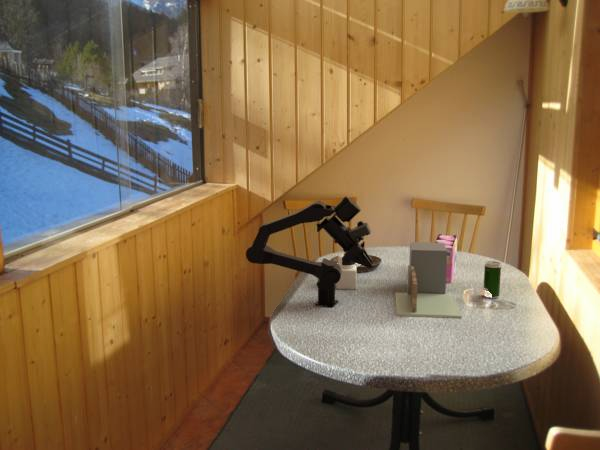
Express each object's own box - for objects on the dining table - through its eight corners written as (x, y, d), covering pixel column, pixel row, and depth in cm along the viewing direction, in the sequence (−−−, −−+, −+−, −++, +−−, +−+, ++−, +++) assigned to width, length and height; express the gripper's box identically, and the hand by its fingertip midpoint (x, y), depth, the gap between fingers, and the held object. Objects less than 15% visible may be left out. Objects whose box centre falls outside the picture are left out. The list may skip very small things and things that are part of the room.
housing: (395, 284, 234) (396, 241, 231) (450, 285, 231) (452, 243, 228) (396, 315, 201) (397, 266, 198) (461, 318, 198) (463, 268, 195)
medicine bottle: (356, 283, 235) (356, 252, 232) (356, 289, 228) (356, 257, 225) (337, 283, 235) (337, 252, 233) (336, 289, 228) (336, 256, 226)
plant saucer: (320, 269, 256) (320, 261, 255) (348, 258, 272) (348, 251, 271) (364, 277, 244) (364, 269, 243) (390, 266, 260) (391, 258, 259)
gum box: (436, 265, 259) (438, 233, 257) (456, 267, 257) (458, 234, 254) (430, 281, 237) (431, 246, 234) (451, 283, 235) (453, 247, 232)
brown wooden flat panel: (410, 294, 219) (411, 268, 217) (414, 294, 219) (414, 268, 217) (412, 311, 202) (413, 284, 200) (416, 311, 201) (417, 284, 200)
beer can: (492, 300, 215) (494, 265, 213) (479, 296, 220) (481, 262, 217) (502, 297, 218) (504, 263, 216) (490, 293, 223) (492, 260, 220)
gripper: (355, 220, 196) (390, 256, 197) (357, 209, 214) (389, 242, 215) (329, 244, 199) (364, 280, 199) (334, 232, 217) (366, 264, 218)
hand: (372, 265), depth 208 cm, fingers open, 4 cm apart
